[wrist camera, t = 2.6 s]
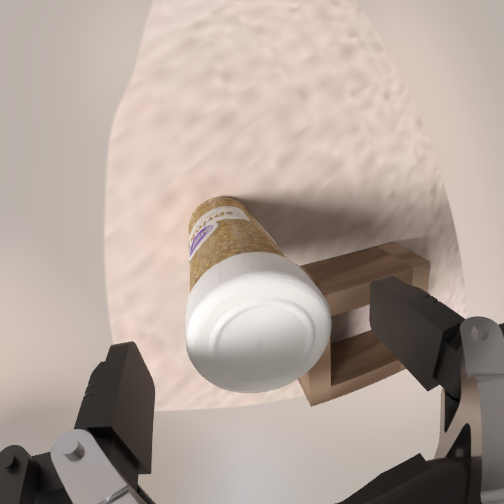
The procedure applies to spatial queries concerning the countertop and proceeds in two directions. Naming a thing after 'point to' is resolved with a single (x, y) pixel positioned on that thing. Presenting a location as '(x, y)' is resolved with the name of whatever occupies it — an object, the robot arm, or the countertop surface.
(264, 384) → the sprinkles bottle
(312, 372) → the frame
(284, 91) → the countertop surface
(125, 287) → the countertop surface
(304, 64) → the countertop surface
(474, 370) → the robot arm
